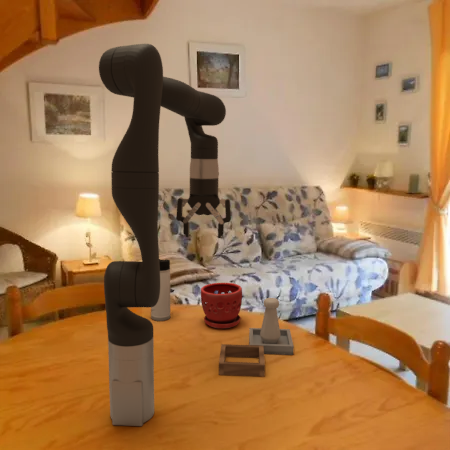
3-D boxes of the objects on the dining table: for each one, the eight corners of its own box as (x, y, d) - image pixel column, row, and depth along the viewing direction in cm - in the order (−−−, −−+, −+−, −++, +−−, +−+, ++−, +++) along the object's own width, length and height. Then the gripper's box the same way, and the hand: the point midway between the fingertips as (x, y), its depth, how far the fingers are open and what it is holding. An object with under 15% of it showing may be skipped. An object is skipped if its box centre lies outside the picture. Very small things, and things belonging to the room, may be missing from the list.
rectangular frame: (264, 376, 118) (264, 365, 117) (218, 374, 118) (218, 363, 118) (263, 355, 129) (263, 345, 128) (221, 354, 129) (221, 344, 129)
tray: (293, 354, 130) (293, 346, 129) (249, 353, 130) (249, 344, 130) (289, 337, 141) (289, 329, 141) (249, 335, 142) (249, 327, 142)
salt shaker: (278, 347, 132) (280, 303, 130) (258, 345, 133) (259, 301, 131) (281, 339, 138) (282, 296, 135) (261, 337, 139) (262, 294, 137)
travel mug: (148, 320, 152) (147, 260, 149) (154, 313, 159) (153, 255, 155) (166, 322, 151) (166, 261, 148) (172, 315, 158) (172, 256, 154)
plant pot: (233, 314, 159) (234, 279, 157) (247, 328, 147) (248, 292, 145) (195, 318, 155) (196, 283, 153) (207, 333, 143) (207, 295, 141)
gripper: (174, 176, 120) (174, 239, 123) (230, 177, 119) (229, 240, 122) (178, 174, 127) (179, 233, 130) (231, 175, 127) (230, 235, 129)
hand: (203, 237), depth 126 cm, fingers open, 8 cm apart
